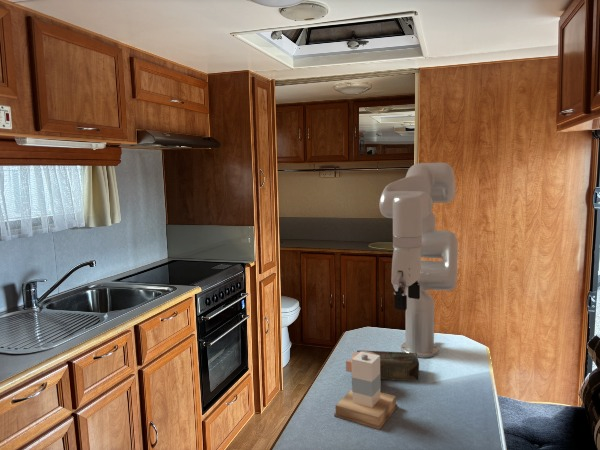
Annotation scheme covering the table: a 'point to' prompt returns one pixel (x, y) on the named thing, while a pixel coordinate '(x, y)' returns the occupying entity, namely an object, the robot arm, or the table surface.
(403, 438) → the table surface
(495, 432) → the table surface
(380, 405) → the plinth
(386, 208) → the robot arm
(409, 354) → the beverage carton
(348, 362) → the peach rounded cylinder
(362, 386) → the slim carton
